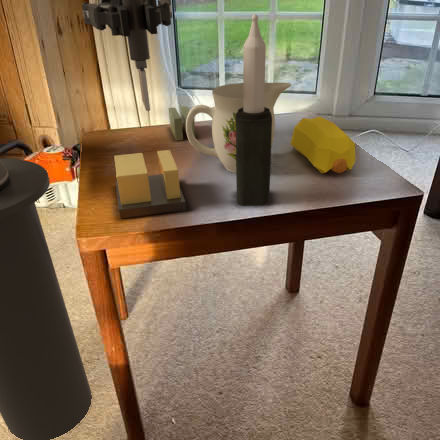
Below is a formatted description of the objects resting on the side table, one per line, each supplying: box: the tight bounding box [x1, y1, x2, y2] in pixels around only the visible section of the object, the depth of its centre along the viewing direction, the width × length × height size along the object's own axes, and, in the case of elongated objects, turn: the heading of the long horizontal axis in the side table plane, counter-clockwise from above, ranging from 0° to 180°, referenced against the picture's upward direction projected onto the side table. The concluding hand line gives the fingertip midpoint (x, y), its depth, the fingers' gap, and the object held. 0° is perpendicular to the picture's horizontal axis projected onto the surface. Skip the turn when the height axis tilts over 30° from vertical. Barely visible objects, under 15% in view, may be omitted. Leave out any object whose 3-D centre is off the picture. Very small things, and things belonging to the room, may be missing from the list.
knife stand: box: [168, 106, 196, 141], centre depth 99 cm, size 9×4×4 cm, turn 13°
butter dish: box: [114, 149, 187, 220], centre depth 71 cm, size 12×10×6 cm
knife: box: [122, 0, 151, 112], centre depth 60 cm, size 6×3×15 cm, turn 13°
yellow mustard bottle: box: [290, 116, 356, 174], centre depth 82 cm, size 18×7×8 cm
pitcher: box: [186, 82, 292, 174], centre depth 79 cm, size 11×18×14 cm, turn 93°
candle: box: [235, 14, 272, 206], centre depth 64 cm, size 5×5×25 cm
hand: (139, 22), depth 54 cm, fingers closed on knife, 3 cm apart
